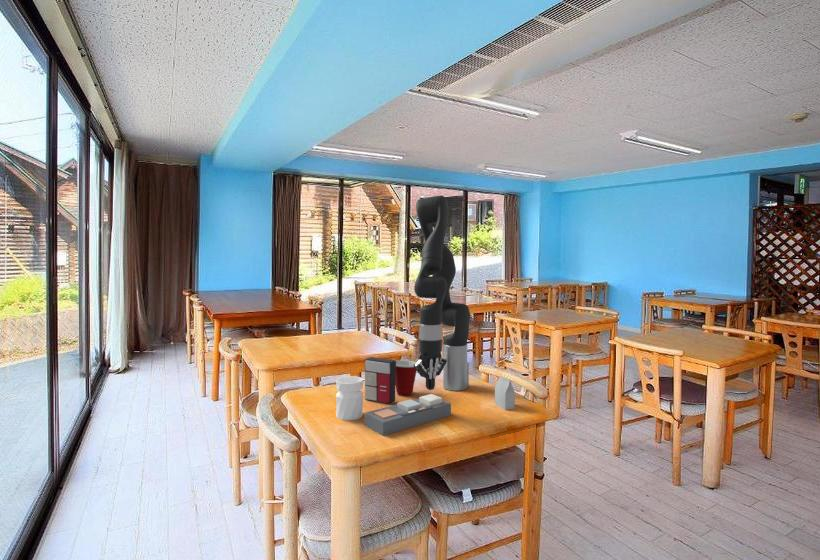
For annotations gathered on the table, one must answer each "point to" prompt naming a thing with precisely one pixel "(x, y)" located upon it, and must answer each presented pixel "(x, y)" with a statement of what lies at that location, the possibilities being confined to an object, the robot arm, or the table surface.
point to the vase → (349, 398)
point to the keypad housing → (406, 417)
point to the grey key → (408, 405)
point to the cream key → (430, 400)
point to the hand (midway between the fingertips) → (430, 389)
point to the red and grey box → (380, 380)
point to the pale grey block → (504, 394)
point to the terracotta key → (385, 413)
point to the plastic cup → (405, 377)
